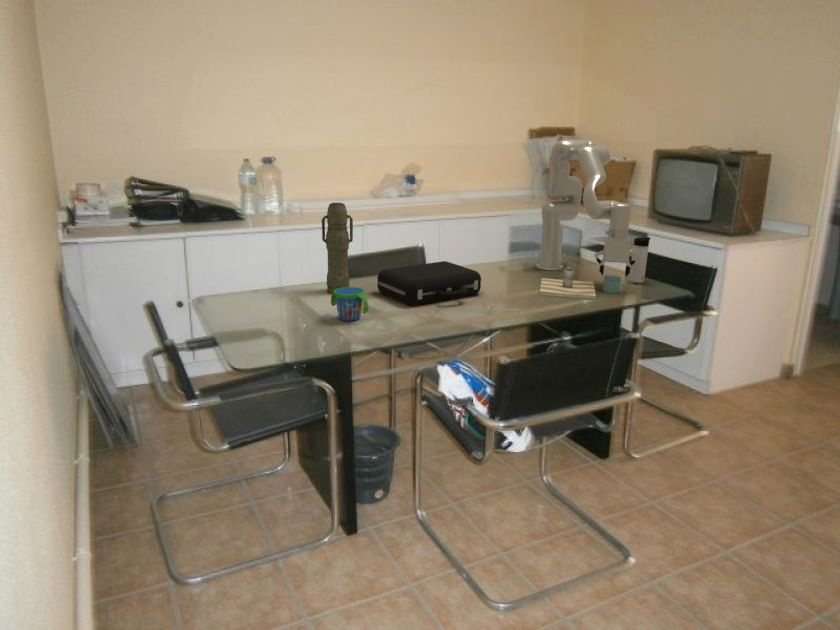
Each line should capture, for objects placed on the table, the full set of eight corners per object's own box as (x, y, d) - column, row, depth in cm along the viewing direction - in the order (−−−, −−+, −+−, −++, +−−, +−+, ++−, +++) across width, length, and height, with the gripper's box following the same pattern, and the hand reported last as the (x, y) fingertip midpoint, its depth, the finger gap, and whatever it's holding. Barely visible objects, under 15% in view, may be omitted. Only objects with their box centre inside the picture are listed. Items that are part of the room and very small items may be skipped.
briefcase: (419, 313, 237) (419, 287, 234) (373, 293, 262) (373, 268, 259) (494, 299, 258) (495, 274, 255) (445, 281, 282) (446, 258, 279)
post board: (541, 281, 284) (542, 260, 282) (593, 285, 280) (595, 263, 277) (539, 295, 264) (541, 272, 261) (595, 299, 260) (598, 276, 257)
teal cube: (602, 288, 276) (604, 274, 274) (618, 289, 275) (620, 275, 273) (603, 292, 270) (605, 278, 268) (619, 293, 269) (621, 279, 267)
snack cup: (323, 316, 231) (322, 288, 227) (346, 310, 238) (345, 283, 235) (353, 327, 221) (352, 298, 217) (375, 320, 228) (375, 292, 225)
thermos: (320, 289, 264) (319, 202, 253) (349, 287, 268) (348, 201, 257) (326, 295, 256) (324, 205, 245) (355, 293, 260) (354, 204, 249)
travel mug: (646, 284, 284) (652, 239, 278) (631, 284, 284) (636, 238, 278) (642, 280, 290) (647, 236, 284) (627, 280, 290) (632, 235, 284)
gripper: (596, 234, 263) (592, 275, 268) (641, 236, 260) (636, 278, 265) (595, 231, 270) (592, 272, 275) (639, 233, 267) (635, 274, 272)
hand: (614, 275), depth 270 cm, fingers open, 9 cm apart
